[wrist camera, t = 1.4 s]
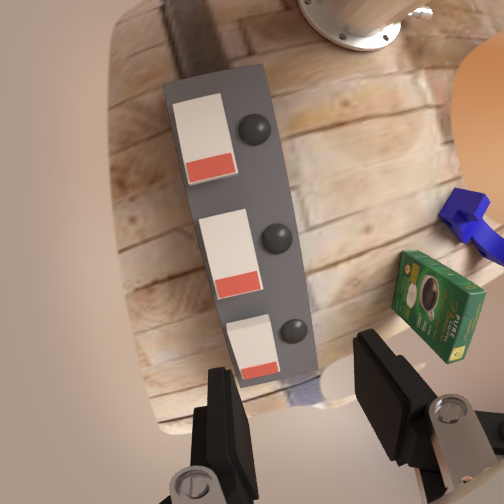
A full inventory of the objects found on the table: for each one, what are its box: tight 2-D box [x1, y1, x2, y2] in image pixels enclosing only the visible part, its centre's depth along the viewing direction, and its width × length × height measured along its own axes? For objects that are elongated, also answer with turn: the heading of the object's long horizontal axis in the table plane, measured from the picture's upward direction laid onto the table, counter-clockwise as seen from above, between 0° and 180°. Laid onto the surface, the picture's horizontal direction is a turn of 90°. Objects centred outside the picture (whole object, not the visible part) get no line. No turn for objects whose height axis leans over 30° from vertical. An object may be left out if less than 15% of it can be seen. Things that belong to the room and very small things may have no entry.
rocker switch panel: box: [163, 64, 318, 388], centre depth 31 cm, size 9×32×4 cm, turn 12°
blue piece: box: [438, 188, 504, 267], centre depth 33 cm, size 12×4×6 cm, turn 54°
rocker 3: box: [226, 314, 280, 380], centre depth 30 cm, size 4×7×2 cm, turn 12°
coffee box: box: [392, 250, 486, 364], centre depth 30 cm, size 8×3×13 cm, turn 179°
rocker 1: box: [173, 93, 238, 186], centre depth 25 cm, size 4×7×2 cm, turn 12°
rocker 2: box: [199, 209, 263, 299], centre depth 27 cm, size 4×7×2 cm, turn 12°
